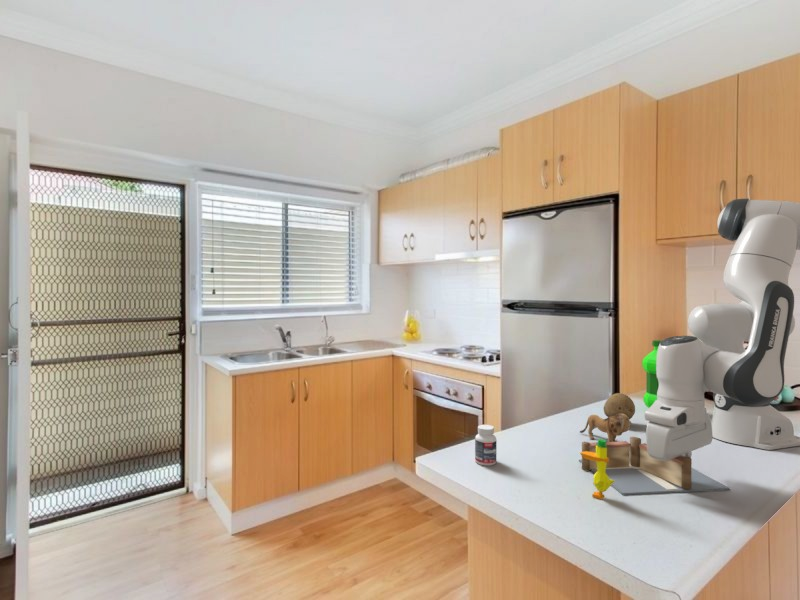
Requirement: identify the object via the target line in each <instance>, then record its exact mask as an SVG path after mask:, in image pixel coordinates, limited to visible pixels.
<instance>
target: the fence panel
mask: <svg viewBox="0 0 800 600" xmlns="http://www.w3.org/2000/svg"><path fill="white" fill-rule="evenodd" d="M639 447H640V468H641V469H643V470H645V471H647V472H649V473H652V474H654V475H656V476H658V477H660V478H662V479H665V480H667V481H669V482H671V483H673V484H675V485H678V486H680V487H682V488H683V489H686V490H691V468H692V460H693V459H692V457H691V458H690V457H685V456H682V457H679V456H678V457H676V458H673V459H671V460H668V461H661V460H657V459H655V458H652V457H650V455H649V454H648V451H647V442H645V443H641V444H639Z"/></svg>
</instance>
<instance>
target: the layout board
mask: <svg viewBox="0 0 800 600" xmlns="http://www.w3.org/2000/svg"><path fill="white" fill-rule="evenodd" d="M579 462H580V463H581V464H582V458H581V459H579ZM590 471H592V472H593V473H594V474H595V473H596V472H597V471H598V470H597V468H596V469H590ZM605 473H606V474H607V476H608V477H609V479H611V480H615V481H614V482H613V483H612V484H611V485H610V487H611V488H613V489H615V491H617V492H618V493H620V494H621V495H622V496H628V495H629V496H630V495H631V496H632V495H633V496H634V495H649V494H669V493H689V492H690V493H691V492H694V493H695V492H710V491H729V490H731V489H730V487H728V486H727V485H725V484H723V483H721V482H719V481H718V480H715V479H714V478H712V477H710V476H708V475H706V474H704V473H703V472H700V471H699V470H697V469H695V468H693V467H691V490H686V489H683V488H682V487H680V486H678V485H675V484H673V483H671V482H669V481H667V480H665V479H662V478H660V477H658V476H656V475H654V474H652V473H649V472H647V471H645V470H643V469H641V468H640V467H633V466H631V465H630V467H616V468H606V471H605Z"/></svg>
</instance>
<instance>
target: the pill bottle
mask: <svg viewBox="0 0 800 600" xmlns="http://www.w3.org/2000/svg"><path fill="white" fill-rule="evenodd" d="M494 434H495V427H494V426H493V425H491V424H480V425H478V426H477V434H476V435H475V438H474V439H475V441H474V461H475V462H476V463H477V464H478V465H481V466H487V467H488V466H489V467H490V466H493V465H495V464H497V437H496V436H495V435H494Z"/></svg>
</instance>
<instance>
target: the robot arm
mask: <svg viewBox="0 0 800 600" xmlns="http://www.w3.org/2000/svg"><path fill="white" fill-rule="evenodd" d="M716 224H717V230H718V231H717V233H718V235H719V236H720V237H721V238H723V239H724V240H725V239H726V240H727V241H731V242H735V243H734V245H733V247H732V249H731V252H730V253H729V257H728V259H727V262H726V265H725V266H724V270H723V275H722V281H723V284H724V287H725V288H726V289H727V291H728V292H729V293H730V294H732V296H734V297H735V298H737V299H740V300H741V301H740V302H733V303H731V302H730V303H729V302H728V303H727V302H725V303H724V302H720V303H719V302H717V303H708V304H702V305H697V306H695V307H694V308H692V309H691V311H690V313H689V315H688V318H687V325H688V329H689V331H690V332H691V334H692V335H693V336H692V335H677V336H671V337H670V336H669V337H667V338H664V339H662V340H663V341H661V342H660V344H659V347H658V350H657V359H656V375H657V379H658V382H659V387H658V391H657V400H656V401H655V402H654V403H653V405H652V406H651V407H650V408H648V407H647V409H646V410H645V412H644V419H645V421H648V422H647V423H646V430H645V435H646V436H645V437H646V442H645V443H646V444H647V451H648V454H649V455H650V457H652V458H655V459H657V460H661V461H668V460H671V459H673V458H676V457H678V456H679V457H682V456H685V457H690V458H691V459H692V453H693V451H696V450H698V449H701V448H703V447H706V446H708V445H711V444H712V442H713V438H714V439H716V440H720V441H723V442H724V443H725V442H727V443H729V444H734V445H740V446H745V447H752V448H757V449H762V450H766V451H772V450H777V449H786V448H791V447H800V437H799V436H797V435H795V431H794V425H793V422H792V420H791V419H790V418H788V417H787V416H786V415H785V414H783V413H782V412H780V411H779V410H778V409H776V408H775V407H773V406H772V404H771V403H772V402H773V401H774V402H778V400H780V395H781V393H782V392H783V391H784V390H783V389H784V387H785V358H786V352H787V348H788V344H789V343H788V342H789V337H790V335H792V333H793V332H794V329H795V327H796V321H795V320H796V319H795V317H794V309H795V294H794V291H793V289H792V288H791V287H790V286H789V275H790V272H791V269H792V267H793V264H794V261H795V257H796V254H797V250H800V202H797V201H791V200H770V199H749V198H736V199H732V200H731V201H729V202H728V203H727V204H726V206H724V207H723V208H722V209H721V211H720V213H719V215H718V218H717V223H716ZM744 342H747V343H748V344H747V346H746V347H747V348H745V347H744ZM706 392H710V393H712V398H713V402H714V406H713V411H712V417H711V415H710V414H709V413H708V412H707V407H705V406H706V405H705V393H706Z"/></svg>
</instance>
